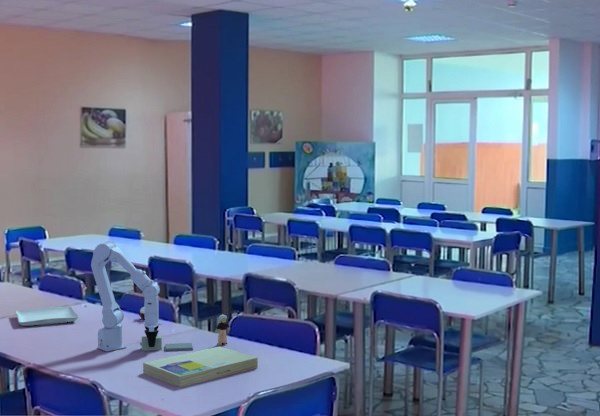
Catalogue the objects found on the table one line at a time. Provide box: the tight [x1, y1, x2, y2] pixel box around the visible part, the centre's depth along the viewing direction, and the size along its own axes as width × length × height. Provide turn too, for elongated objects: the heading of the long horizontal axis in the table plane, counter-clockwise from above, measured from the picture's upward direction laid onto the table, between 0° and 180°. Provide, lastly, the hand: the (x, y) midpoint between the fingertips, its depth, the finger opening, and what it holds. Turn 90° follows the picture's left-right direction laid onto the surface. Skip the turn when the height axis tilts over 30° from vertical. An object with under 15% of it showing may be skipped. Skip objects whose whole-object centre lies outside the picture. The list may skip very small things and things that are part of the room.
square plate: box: [14, 306, 80, 327], centre depth 361 cm, size 27×27×4 cm
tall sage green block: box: [141, 335, 163, 352], centre depth 308 cm, size 8×4×5 cm, turn 101°
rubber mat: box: [164, 342, 194, 352], centre depth 310 cm, size 11×8×1 cm
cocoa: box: [138, 306, 145, 320], centre depth 364 cm, size 10×6×12 cm, turn 44°
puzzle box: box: [142, 345, 259, 388], centre depth 278 cm, size 36×5×24 cm
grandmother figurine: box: [214, 314, 231, 346], centre depth 317 cm, size 8×4×13 cm, turn 143°
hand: (151, 344), depth 308 cm, fingers open, 6 cm apart
